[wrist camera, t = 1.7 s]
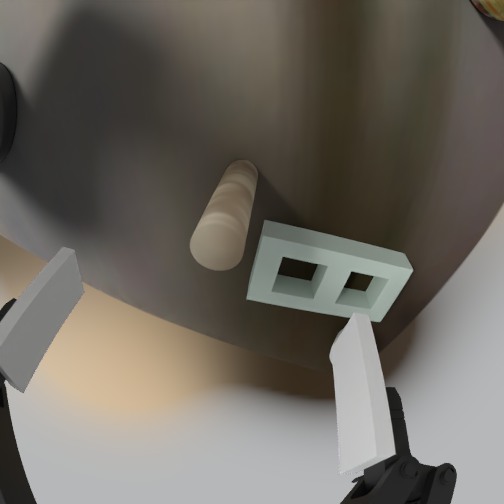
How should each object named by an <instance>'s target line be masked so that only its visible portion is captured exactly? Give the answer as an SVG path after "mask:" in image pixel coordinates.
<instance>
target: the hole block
mask: <svg viewBox="0 0 504 504" xmlns="http://www.w3.org/2000/svg"><path fill="white" fill-rule="evenodd" d="M282 257H287V258H292V259H296V260H301V261H306V262H310V263H315V264H318V266H317V268H316V271H315V273H314V275H313V278H312V280H311V281H309V280H304V279H299V278H294V277H289V276H284V275H279V274H277V273H278V270H279V267H280V264H281V261H282ZM351 271H353V272H357V273H362V274H367V275H371V276H374V277H373V279H372V281H371V283H370V284H369V286H368V288H367V290H366V292H365V291H360V290H355V289H349V288H344V285H345V283H346V281H347V279H348V277H349V275H350V273H351ZM412 272H413V268H412V266H411V265H410V263H409V261H408V259H407V257H406V255H405V254H404V253H401V252H397V251H393V250H389V249H385V248H381V247H378V246H374V245H370V244H366V243H362V242H358V241H354V240H350V239H346V238H342V237H338V236H333V235H329V234H325V233H321V232H317V231H312V230H308V229H304V228H300V227H295V226H291V225H286V224H282V223H277V222H273V221H268V220H264V224H263V228H262V232H261V236H260V240H259V244H258V248H257V252H256V256H255V260H254V264H253V268H252V272H251V276H250V279H249V285H248V292H247V299H248V300H253V301H258V302H263V303H268V304H273V305H279V306H284V307H290V308H295V309H301V310H306V311H312V312H318V313H324V314H330V315H336V316H342V317H349V318H351V317H352V315H353V313H360V314H367V315H369V318H370V321H375V322H381V320H382V319H383V317H384V316H385V314H386V313H387V311H388V310H389V308H390V307H391V305H392V304H393V302H394V301H395V299H396V298H397V296H398V295H399V293H400V291H401V290H402V288H403V287H404V285H405V283H406V282H407V280H408V279H409V277H410V275H411V274H412Z"/></svg>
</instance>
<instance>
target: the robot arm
mask: <svg viewBox="0 0 504 504" xmlns="http://www.w3.org/2000/svg"><path fill="white" fill-rule="evenodd" d="M15 125H16V97H15V90H14V86H13V82H12V79H11V76H10V74H9V72H8V70H7V69H6V68H5V67H4V66H3V65H2V64H1V63H0V162H1V161H2V160H3V159H4V158H5V156H6V155H7V153H8V151H9V149H10V147H11V144H12V140H13V137H14V132H15ZM83 293H84V289H83V285H82V281H81V277H80V272H79V268H78V263H77V258H76V253H75V250H73V249H69V248H66V247H62V249H61V250H60V251H59V252H58V253H57V254H56V255H55V256H54V257H53V258H52V259H51V260H50V261H49V263H48V264H47V265H46V266H45V267H44V268H43V269H42V271H41V272H40V273H39V274H38V275H37V276H36V278H35V279H34V280H33V281H32V282H31V283H30V285H29V286H28V287H27V288H26V290H25V291H24V292H23V293H22V294H21V296H20V297H19V298H18V299H17V300H16V299H14V298H13V299H12V300H10V301H9V302H8V303H6V304H5V305H4V306H3V308H2V309H1V310H0V504H37V503H36V501H35V498H34V496H33V493H32V491H31V488H30V485H29V483H28V480H27V477H26V474H25V471H24V468H23V465H22V461H21V458H20V455H19V451H18V448H17V443H16V439H15V435H14V431H13V426H12V421H11V416H10V411H9V405H8V399H7V393H6V387H5V384H4V382H5V380H7V381H8V382H9V383H10V385H11V386H13V387H14V388H16V389H17V390H19V391H20V392H22V393H24V391H25V389H26V387H27V385H28V383H29V381H30V379H31V378H32V376H33V374H34V372H35V370H36V369H37V367H38V365H39V363H40V361H41V359H42V358H43V356H44V354H45V353H46V351H47V349H48V347H49V346H50V344H51V342H52V341H53V339H54V338H55V336H56V334H57V333H58V331H59V329H60V328H61V326H62V325H63V323H64V321H65V320H66V319H67V317H68V315H69V314H70V313H71V311H72V309H73V308H74V307H75V305H76V304H77V302H78V301H79V299H80V297H81V296H82V295H83ZM331 353H332V363H333V373H334V384H335V396H336V409H337V424H338V425H337V426H338V445H339V474H351V473H357V472H360V471H362V470H364V475H363V476H360V477H358V478H355V479H354V480H353V481H352V482H353V483H355V482H357V481H358V482H357V484H356V485H355V486H354V487H353V489H352V490H351V491H350V492H349V494H348V495H347V496H346V497H345V498H344V500H343V501H342V502H341V503H340V504H450V503H451V500H452V496H453V492H454V487H455V483H456V478H457V473H456V469H455V468H454V466H453V465H451V464H450V463H444V464H442V465H440V466H438V467H434V466H429V465H423V464H420V463H419V461H418V460H417V459H416V458H415V457H412V455H411V453H410V449H409V442H408V436H407V430H406V423H405V420H404V412H403V411H402V409H403V408H402V402H401V398H400V396H399V394H398V393H397V391H396V389H395V388H394V387H385V384H384V379H383V374H382V369H381V364H380V360H379V355H378V351H377V347H376V342H375V338H374V334H373V330H372V326H371V322H370V318H369V315H367V314H360V313H353V315H352V317H351V318H350V320H349V321H348V323H347V325H346V326H345V328H344V329H343V331H342V333H341V334H340V336H339V337H338V339H337V340H336V342H335V343H334V345H333V347H332V348H331Z"/></svg>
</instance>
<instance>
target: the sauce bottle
mask: <svg viewBox="0 0 504 504" xmlns="http://www.w3.org/2000/svg"><path fill="white" fill-rule="evenodd" d="M471 1H472V2H473V4H474V5H475V7H477V8H478V10H479V11H480V12H482V13H483V14H485V15H486V16H488V17H489V18H492V19H494V20H501V21H504V0H471Z"/></svg>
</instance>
